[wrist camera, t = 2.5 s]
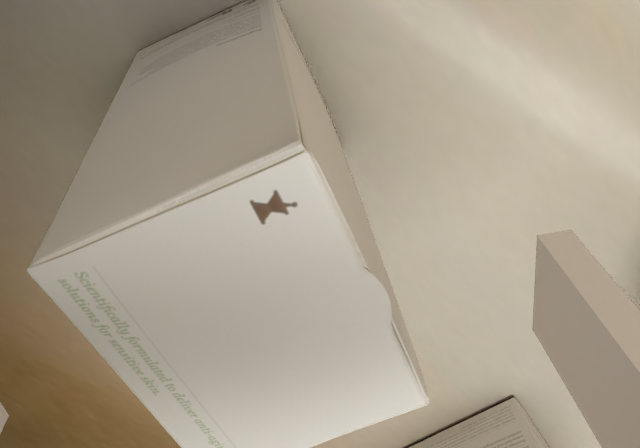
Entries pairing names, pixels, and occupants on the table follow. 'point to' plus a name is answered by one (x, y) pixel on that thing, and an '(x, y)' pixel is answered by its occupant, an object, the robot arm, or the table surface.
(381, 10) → the table surface
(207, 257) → the skincare box
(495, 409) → the supplement box
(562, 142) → the table surface
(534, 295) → the robot arm
